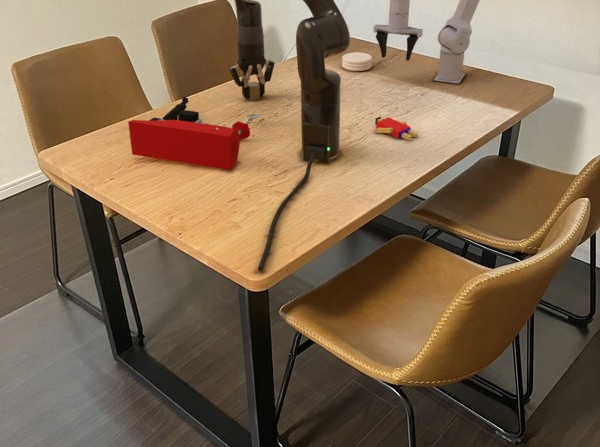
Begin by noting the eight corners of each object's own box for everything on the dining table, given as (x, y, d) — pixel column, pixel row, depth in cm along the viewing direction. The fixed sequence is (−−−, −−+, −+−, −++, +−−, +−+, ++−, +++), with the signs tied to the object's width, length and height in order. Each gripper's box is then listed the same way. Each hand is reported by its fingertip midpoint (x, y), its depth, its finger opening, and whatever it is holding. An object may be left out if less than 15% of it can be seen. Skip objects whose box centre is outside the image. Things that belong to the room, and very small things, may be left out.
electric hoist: (177, 78, 171) (124, 120, 146) (270, 90, 165) (231, 136, 141) (180, 112, 176) (129, 158, 152) (269, 125, 171) (232, 175, 146)
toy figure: (421, 128, 160) (386, 113, 167) (405, 136, 156) (369, 120, 163) (420, 136, 162) (385, 121, 169) (404, 144, 158) (368, 128, 165)
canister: (261, 96, 187) (260, 81, 185) (259, 100, 184) (258, 86, 181) (248, 95, 187) (247, 81, 185) (246, 100, 184) (245, 86, 182)
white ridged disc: (357, 73, 202) (357, 63, 200) (335, 66, 209) (336, 56, 207) (378, 66, 208) (378, 56, 206) (356, 60, 214) (357, 50, 212)
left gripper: (268, 33, 182) (270, 89, 191) (222, 39, 176) (227, 97, 186) (278, 39, 176) (280, 97, 185) (231, 46, 171) (236, 105, 180)
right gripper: (371, 13, 181) (368, 59, 188) (419, 17, 176) (415, 64, 183) (378, 7, 186) (376, 52, 194) (426, 12, 181) (421, 58, 188)
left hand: (253, 96), depth 185 cm, fingers closed on canister, 4 cm apart
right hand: (395, 58), depth 189 cm, fingers open, 7 cm apart
